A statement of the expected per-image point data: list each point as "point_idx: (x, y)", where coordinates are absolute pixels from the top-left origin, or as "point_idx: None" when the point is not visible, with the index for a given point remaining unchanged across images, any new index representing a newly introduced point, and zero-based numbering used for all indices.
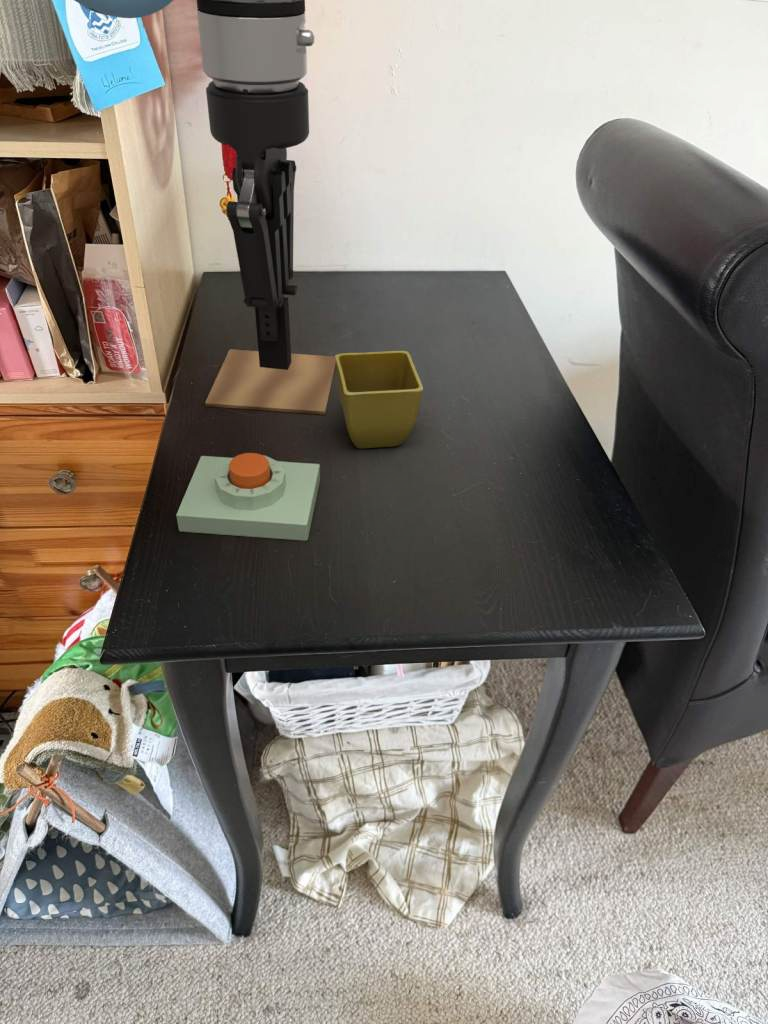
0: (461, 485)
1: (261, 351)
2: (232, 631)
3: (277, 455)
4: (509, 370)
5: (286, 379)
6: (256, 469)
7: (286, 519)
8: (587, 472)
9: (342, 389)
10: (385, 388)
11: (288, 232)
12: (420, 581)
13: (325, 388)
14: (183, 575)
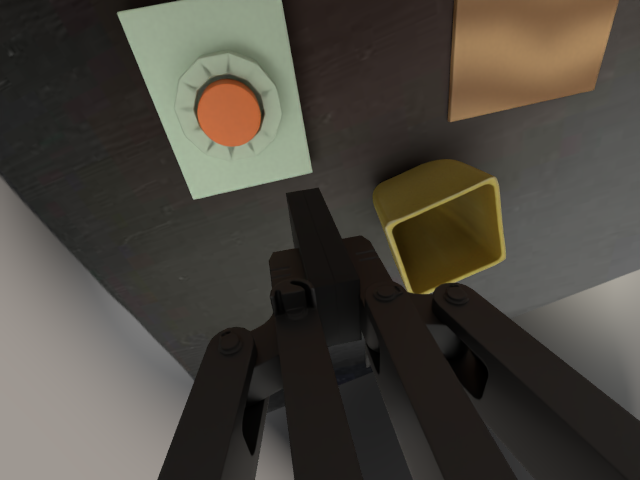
0: None
1: (291, 217)
2: (13, 166)
3: (344, 89)
4: (540, 279)
5: (536, 30)
6: (222, 132)
7: (191, 174)
8: None
9: (411, 206)
10: (466, 213)
11: (531, 470)
12: (192, 295)
13: (507, 102)
14: (51, 63)
